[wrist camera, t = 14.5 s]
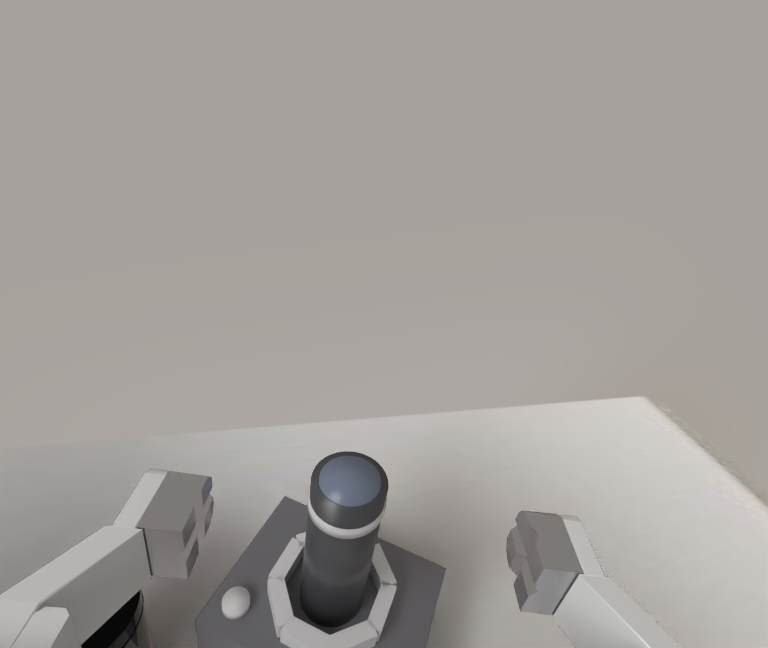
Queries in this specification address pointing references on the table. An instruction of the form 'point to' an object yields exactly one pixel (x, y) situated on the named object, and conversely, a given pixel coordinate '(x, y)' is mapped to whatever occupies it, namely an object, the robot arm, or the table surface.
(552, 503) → the table surface
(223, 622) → the camera body
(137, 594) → the supplement container
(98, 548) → the robot arm
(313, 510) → the lens
